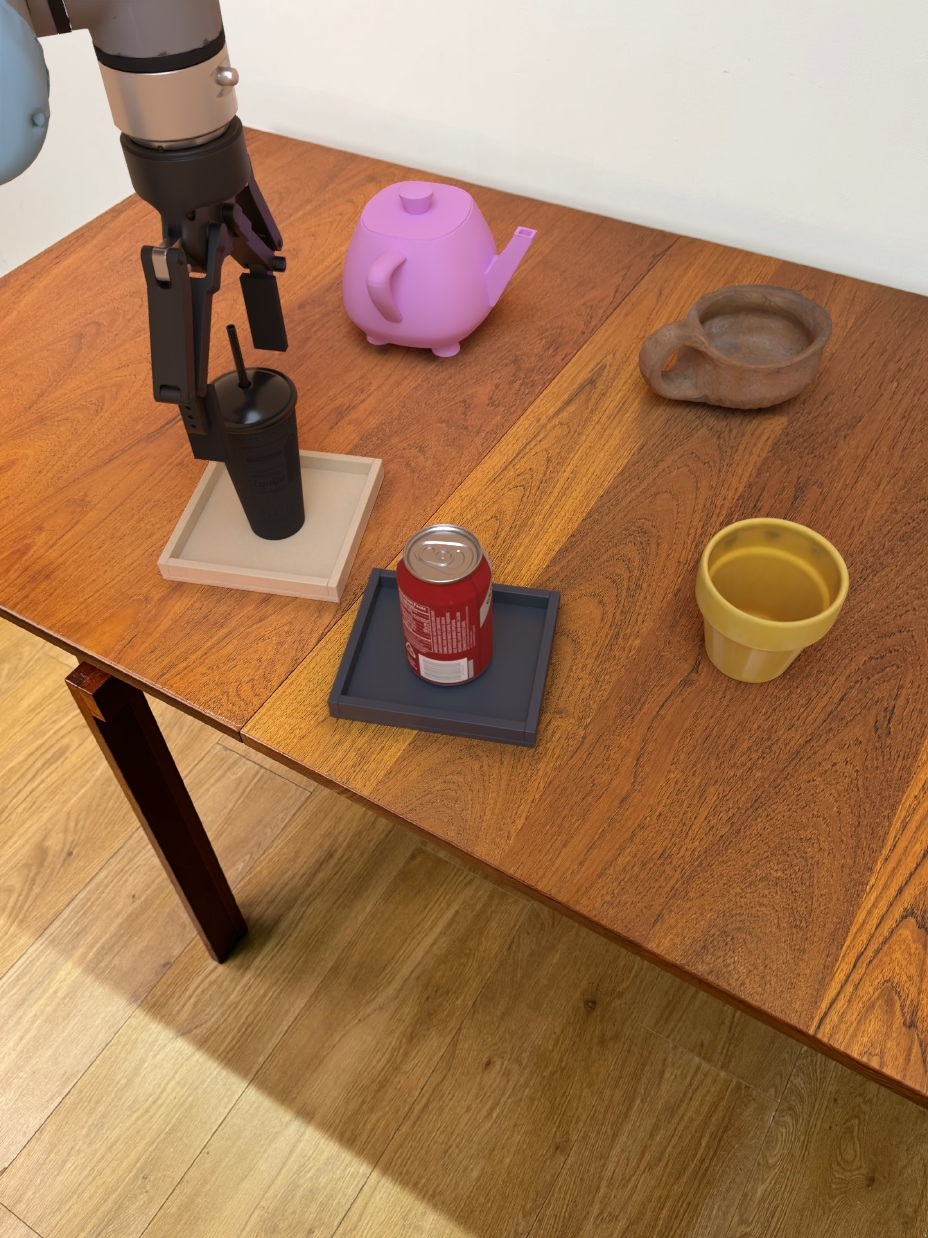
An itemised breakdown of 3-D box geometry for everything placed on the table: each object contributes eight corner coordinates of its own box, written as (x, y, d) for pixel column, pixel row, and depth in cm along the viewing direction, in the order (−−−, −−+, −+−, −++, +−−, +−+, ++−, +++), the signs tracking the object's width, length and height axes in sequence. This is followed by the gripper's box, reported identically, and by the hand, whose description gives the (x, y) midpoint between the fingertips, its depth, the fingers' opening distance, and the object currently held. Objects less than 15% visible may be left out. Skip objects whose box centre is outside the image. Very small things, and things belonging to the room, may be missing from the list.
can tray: (330, 717, 76) (327, 701, 74) (375, 583, 84) (372, 567, 82) (534, 748, 73) (535, 732, 72) (559, 608, 82) (560, 591, 80)
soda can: (475, 701, 75) (471, 599, 66) (393, 677, 77) (378, 574, 68) (504, 634, 79) (504, 529, 70) (425, 613, 81) (415, 507, 72)
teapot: (499, 408, 98) (498, 270, 86) (313, 372, 102) (288, 236, 90) (553, 297, 109) (559, 162, 98) (383, 269, 114) (370, 137, 102)
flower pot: (819, 713, 74) (855, 633, 67) (679, 696, 76) (698, 615, 68) (813, 608, 81) (845, 523, 73) (684, 593, 82) (703, 508, 75)
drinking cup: (310, 482, 91) (271, 288, 75) (330, 539, 86) (293, 345, 71) (227, 502, 90) (170, 308, 74) (243, 561, 85) (185, 368, 69)
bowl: (709, 462, 90) (705, 357, 84) (617, 414, 100) (608, 318, 95) (856, 393, 95) (863, 290, 89) (754, 354, 106) (754, 260, 100)
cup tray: (163, 579, 85) (156, 562, 83) (225, 457, 94) (220, 440, 93) (339, 603, 83) (336, 586, 81) (384, 475, 92) (382, 458, 91)
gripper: (159, 233, 53) (236, 517, 69) (298, 42, 68) (334, 312, 85) (28, 221, 54) (135, 504, 70) (194, 36, 69) (250, 304, 86)
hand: (244, 400), depth 78 cm, fingers open, 13 cm apart
